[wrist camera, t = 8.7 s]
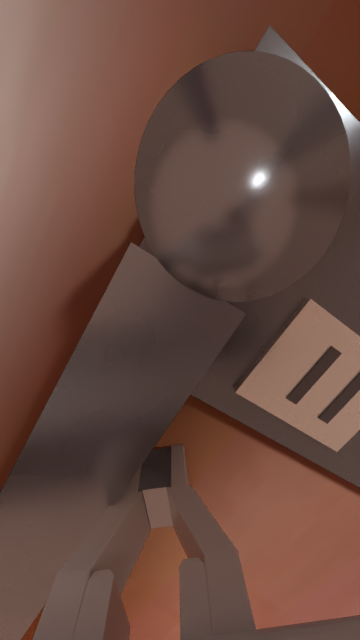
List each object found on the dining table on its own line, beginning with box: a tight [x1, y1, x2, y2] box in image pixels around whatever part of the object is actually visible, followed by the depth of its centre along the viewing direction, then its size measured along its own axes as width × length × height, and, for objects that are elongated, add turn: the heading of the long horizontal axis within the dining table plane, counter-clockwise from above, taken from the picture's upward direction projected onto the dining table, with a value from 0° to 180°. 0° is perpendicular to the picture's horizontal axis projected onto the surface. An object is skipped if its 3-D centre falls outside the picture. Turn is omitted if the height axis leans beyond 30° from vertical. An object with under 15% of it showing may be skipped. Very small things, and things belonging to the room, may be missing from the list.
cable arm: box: [0, 51, 351, 640], centre depth 8 cm, size 4×29×4 cm, turn 149°
